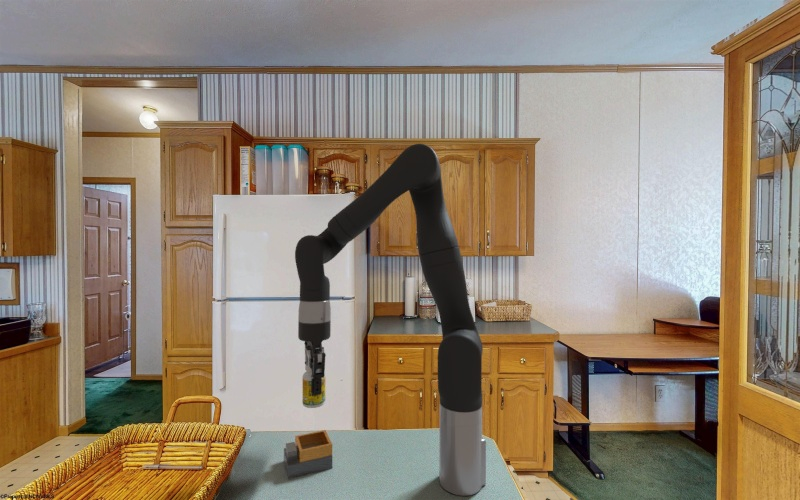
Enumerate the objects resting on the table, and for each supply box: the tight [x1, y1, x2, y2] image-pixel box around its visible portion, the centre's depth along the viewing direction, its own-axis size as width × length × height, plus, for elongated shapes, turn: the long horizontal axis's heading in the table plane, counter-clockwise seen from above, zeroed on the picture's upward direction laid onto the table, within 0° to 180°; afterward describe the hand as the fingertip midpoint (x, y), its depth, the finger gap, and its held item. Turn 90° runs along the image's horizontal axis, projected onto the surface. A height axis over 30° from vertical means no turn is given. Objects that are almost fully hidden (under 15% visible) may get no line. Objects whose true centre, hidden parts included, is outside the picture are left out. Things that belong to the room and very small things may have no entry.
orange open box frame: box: [283, 429, 333, 480], centre depth 84 cm, size 10×8×6 cm
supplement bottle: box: [302, 363, 326, 409], centre depth 85 cm, size 5×5×10 cm
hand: (313, 389), depth 85 cm, fingers closed on supplement bottle, 5 cm apart
